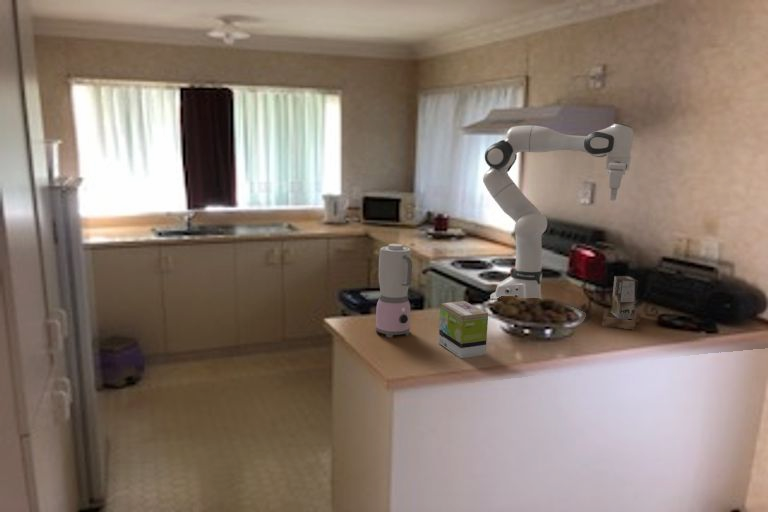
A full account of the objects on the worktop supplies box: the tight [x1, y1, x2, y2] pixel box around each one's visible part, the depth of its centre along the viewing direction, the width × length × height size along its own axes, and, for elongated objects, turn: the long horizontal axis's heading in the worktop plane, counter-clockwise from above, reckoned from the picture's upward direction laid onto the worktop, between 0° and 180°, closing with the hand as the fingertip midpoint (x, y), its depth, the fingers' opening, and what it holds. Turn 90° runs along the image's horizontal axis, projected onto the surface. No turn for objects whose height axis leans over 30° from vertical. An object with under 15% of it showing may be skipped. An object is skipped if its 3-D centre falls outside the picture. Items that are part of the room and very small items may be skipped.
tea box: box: [438, 300, 489, 359], centre depth 197 cm, size 15×10×15 cm
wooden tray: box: [601, 308, 641, 331], centre depth 232 cm, size 14×13×4 cm
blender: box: [375, 243, 413, 339], centre depth 209 cm, size 16×12×32 cm
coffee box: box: [610, 275, 639, 320], centre depth 241 cm, size 9×6×16 cm
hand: (613, 200), depth 239 cm, fingers open, 8 cm apart
